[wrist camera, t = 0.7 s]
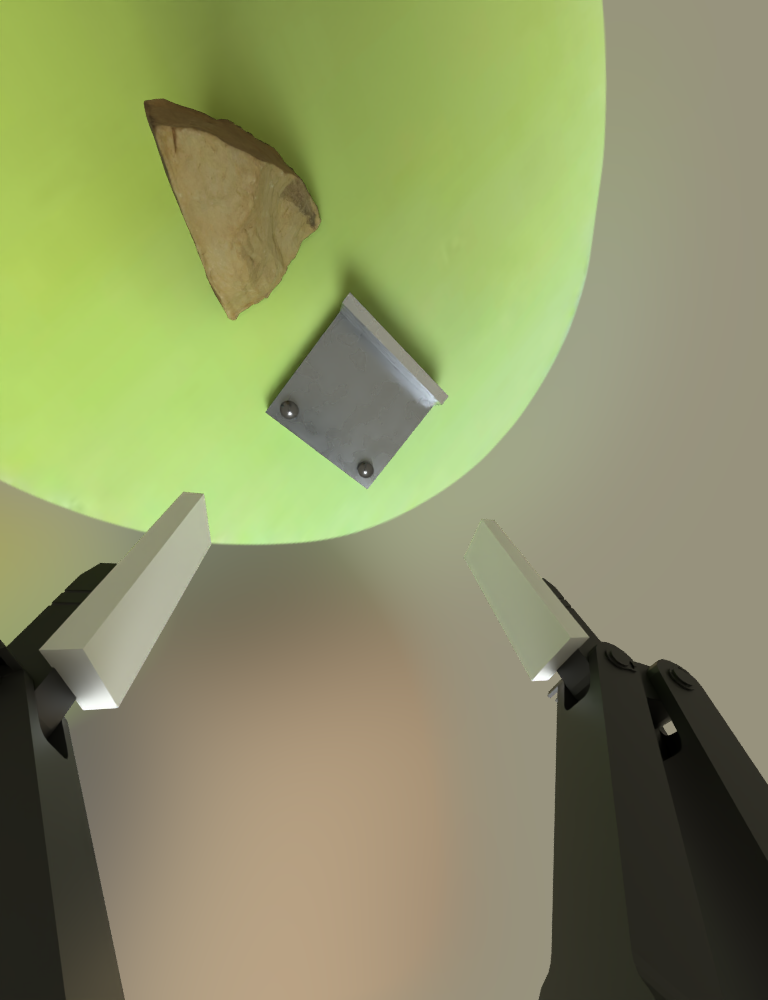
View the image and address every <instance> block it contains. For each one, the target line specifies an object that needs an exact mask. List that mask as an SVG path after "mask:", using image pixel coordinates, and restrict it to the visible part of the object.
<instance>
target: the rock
mask: <svg viewBox="0 0 768 1000" xmlns="http://www.w3.org/2000/svg"><path fill="white" fill-rule="evenodd" d="M144 107H145V112H146V116H147V120H148V123H149V126H150V128H151V131H152V133H153V136H154V138H155V142H156V145H157V148H158V151H159V154H160V157H161V160H162V163H163V166H164V169H165V172H166V175H167V177H168V180H169V182H170V185H171V188H172V191H173V193H174V195H175V198H176V200H177V202H178V205H179V207H180V210H181V212H182V215H183V217H184V219H185V222H186V224H187V227H188V229H189V231H190V234H191V236H192V238H193V240H194V243H195V245H196V248H197V251H198V254H199V256H200V259H201V261H202V264H203V266H204V269H205V272H206V276H207V279H208V281H209V283H210V285H211V287H212V289H213V291H214V293H215V295H216V297H217V298H218V300H219V302H220V304H221V305H222V307H223V308H224V310H225V312H226V314H227V316H228V318H229V319H231V320H236V319H237V317H238V315H239V314H240V312H242V311H244V310H246V309H247V308H249V307H250V306H251V305H253V304H256V303H259V302H260V301H261V300H262V299H264V298H268V297H269V295H270V293H271V292H272V290H273V289H274V288H275V287H276V286H277V284H279V283H280V281H281V280H282V277H283V275H284V274H285V273H286V271H287V266H288V265H289V264H290V262H291V260H292V259H294V258H295V256H296V254H297V252H298V250H299V247H300V245H301V243H302V241H303V240H304V239H305V238H307V237H308V236H309V235H310V234H311V233H313V232H315V231H316V230H317V229H318V226H319V224H320V223H321V219H320V217H319V213H318V208H317V205H316V204H315V203H314V202H313V200H312V198H311V196H310V194H309V192H308V190H307V188H306V186H305V184H304V182H303V181H302V179H301V178H300V177H299V176H298V175H296V173H295V172H294V171H293V169H292V168H291V167H289V166H288V165H287V164H286V163H285V162H284V161H283V159H282V158H281V156H280V155H279V153H278V152H277V151H276V150H275V149H274V148H273V147H271V146H270V145H268V144H266V143H263V142H262V141H260V140H258V139H256V138H255V137H254V136H253V135H252V134H251V133H249V132H246V131H244V130H243V129H242V128H241V127H239V126H237V125H235V124H234V123H233V122H231V121H229V120H226V119H219V120H216V119H214V118H212V117H210V116H208V115H206V114H205V113H202V112H199V111H196V110H194V109H191V108H188V107H184V106H181V105H178V104H175V103H172V102H170V101H168V100H165V99H153V100H146V101H144Z"/></svg>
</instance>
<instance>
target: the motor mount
mask: <svg viewBox="0 0 768 1000" xmlns="http://www.w3.org/2000/svg"><path fill="white" fill-rule="evenodd" d="M447 398H448V395H447V394H446V393H445V392H444V391H443V390H442V389H441V388H440V387H439V386H438V385H437V384H436V383H435V381H434V380H433V379H432V378H431V377H430V376H429V375H428V374H427V373H426V372H425V371H424V370H423V369H422V368H421V367H420V366H419V365H418V364H417V362H416V361H415V360H414V359H413V358H412V357H411V356H410V355H409V354H408V353H407V352H406V351H405V350H404V349H403V348H402V347H401V346H400V345H399V344H398V342H397V341H396V340H395V339H394V338H393V337H392V336H391V335H390V334H389V333H388V332H387V331H386V330H385V329H384V328H383V327H382V326H381V325H380V323H379V322H378V321H377V320H376V319H375V318H374V317H373V316H372V315H371V314H370V313H369V312H368V311H367V310H366V309H365V308H364V307H363V306H362V305H361V303H360V302H359V301H358V300H357V299H356V298H355V297H354V296H353V295H352V294H351V293H349V294H348V295H347V297H346V298H345V299H344V301H343V302H342V305H341V310H340V312H339V314H338V315H337V316H336V318H335V319H334V320H333V322H332V323H331V324H330V326H329V327H328V328H327V330H326V331H325V332H324V334H323V335H322V336H321V338H320V339H319V341H318V342H317V343H316V345H315V346H314V347H313V349H312V350H311V351H310V353H309V354H308V355H307V357H306V358H305V359H304V361H303V362H302V363H301V365H300V366H299V368H298V369H297V370H296V372H295V373H294V374H293V376H292V377H291V378H290V380H289V381H288V382H287V384H286V385H285V386H284V388H283V389H282V390H281V392H280V393H279V395H278V396H277V397H276V399H275V400H274V401H273V403H272V404H271V405H270V407H269V408H268V409H267V411H266V413H267V414H268V415H270V416H271V417H272V418H274V419H275V420H276V421H278V422H279V423H280V424H282V425H283V426H284V427H286V428H287V429H288V430H290V431H291V432H292V433H294V434H295V435H296V436H298V437H299V438H300V439H302V440H303V441H304V442H305V443H307V444H308V445H309V446H311V447H312V448H313V449H315V450H316V451H317V452H319V453H320V454H321V455H323V456H324V457H325V458H327V459H328V460H329V461H331V462H332V463H333V464H335V465H336V466H337V467H339V468H340V469H341V470H343V471H344V472H345V473H347V474H348V475H349V476H351V477H352V478H353V479H355V480H356V481H357V482H358V483H360V484H361V485H362V486H364V487H365V488H366V489H368V488H369V486H370V485H371V484H372V483H373V481H374V480H375V479H376V478H377V476H378V475H379V474H380V473H381V471H382V470H383V469H384V467H385V466H386V465H387V464H388V462H389V461H390V460H391V459H392V457H393V456H394V455H395V454H396V452H397V451H398V450H399V449H400V447H401V446H402V445H403V444H404V442H405V441H406V440H407V438H408V437H409V436H410V435H411V433H412V432H413V431H414V430H415V428H416V427H417V426H418V425H419V423H420V422H421V421H422V420H423V418H424V417H425V416H426V415H427V413H428V412H429V411H430V409H431V408H432V407H433V406H435V405H442V404H443V403H444V401H445V400H446V399H447Z"/></svg>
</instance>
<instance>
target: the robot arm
mask: <svg viewBox="0 0 768 1000" xmlns="http://www.w3.org/2000/svg"><path fill="white" fill-rule="evenodd" d="M210 545H211V539H210V532H209V525H208V518H207V511H206V504H205V497H204V494H201V493H190V492H183V493H182V494H181V495H180V496H179V497H178V498H177V499H176V500H175V501H174V503H173V504H172V505H171V506H170V507H169V508H168V509H167V510H166V511H165V512H164V514H163V515H162V516H161V517H160V518H159V519H158V520H157V521H156V522H155V523H154V524H153V526H152V527H151V528H150V529H149V530H148V531H147V532H146V533H145V534H144V535H143V537H142V538H141V539H140V540H139V541H138V542H137V543H136V544H135V545H134V546H133V547H132V549H131V550H130V551H129V552H128V553H127V554H126V555H125V556H124V557H123V559H122V560H121V561H120V562H119V563H118V564H112V563H100V564H98V565H96V566H95V567H93V568H91V569H90V570H88V571H86V572H84V573H83V574H81V575H80V576H79V577H78V578H77V579H76V580H75V581H73V583H71V585H70V586H68V587H67V588H66V589H65V592H64V593H61V594H60V595H59V596H58V597H57V598H56V599H55V600H54V601H53V602H52V605H51V606H48V607H47V608H46V609H45V610H44V611H43V612H42V613H41V614H40V615H39V616H38V617H37V618H36V619H35V620H34V621H33V622H32V623H31V624H30V625H29V626H27V628H26V629H24V630H23V631H22V633H20V634H19V635H18V636H17V637H16V638H15V639H14V640H13V641H12V642H11V643H10V644H9V645H8V646H7V647H6V646H5V645H4V643H3V642H2V641H1V640H0V1000H125V999H124V994H123V989H122V984H121V979H120V974H119V970H118V965H117V960H116V955H115V950H114V946H113V941H112V935H111V931H110V927H109V921H108V916H107V911H106V906H105V901H104V897H103V892H102V887H101V883H100V877H99V872H98V868H97V863H96V858H95V853H94V848H93V843H92V838H91V834H90V829H89V824H88V819H87V814H86V810H85V805H84V800H83V795H82V790H81V785H80V780H79V775H78V770H77V766H76V761H75V756H74V751H73V746H72V742H71V737H70V732H69V727H68V722H67V720H66V719H65V717H64V716H65V714H66V713H67V711H68V710H69V708H70V707H71V705H72V704H73V703H74V701H75V700H76V701H77V702H78V704H79V705H80V706H81V707H82V709H83V710H92V709H108V708H118V707H119V705H120V703H121V702H122V700H123V698H124V696H125V695H126V693H127V691H128V689H129V688H130V686H131V684H132V682H133V681H134V679H135V677H136V675H137V674H138V671H139V670H140V668H141V667H142V665H143V663H144V661H145V660H146V658H147V656H148V654H149V653H150V651H151V649H152V647H153V645H154V644H155V642H156V640H157V638H158V637H159V635H160V633H161V631H162V629H163V628H164V626H165V624H166V623H167V621H168V619H169V617H170V615H171V614H172V612H173V610H174V609H175V607H176V605H177V603H178V602H179V600H180V598H181V596H182V594H183V593H184V591H185V589H186V587H187V586H188V584H189V582H190V580H191V579H192V577H193V575H194V573H195V572H196V570H197V568H198V566H199V564H200V563H201V561H202V559H203V558H204V556H205V554H206V552H207V551H208V549H209V547H210ZM464 559H465V561H466V563H467V565H468V566H469V568H470V570H471V572H472V574H473V575H474V577H475V579H476V581H477V583H478V585H479V586H480V588H481V590H482V592H483V594H484V595H485V597H486V599H487V601H488V603H489V605H490V606H491V608H492V610H493V612H494V614H495V616H496V617H497V619H498V621H499V623H500V625H501V626H502V628H503V630H504V632H505V634H506V636H507V637H508V639H509V641H510V643H511V645H512V647H513V648H514V650H515V652H516V654H517V655H518V657H519V659H520V661H521V663H522V665H523V666H524V668H525V670H526V672H527V674H528V676H529V677H530V679H531V681H538V680H549V679H550V678H551V676H553V675H554V673H555V672H556V671H557V672H558V674H559V675H560V677H561V678H562V679H561V680H560V681H559V682H558V683H557V684H556V685H555V686H554V687H553V688H552V689H551V690H550V691H549V693H548V697H550V698H551V697H552V696H553V695H554V694H555V693H556V692H558V695H557V699H556V700H555V701H556V702H557V738H556V739H557V740H556V782H555V827H554V870H553V914H552V954H551V964H550V969H549V973H548V975H547V977H546V979H545V981H544V983H543V986H542V988H541V992H540V996H539V1000H768V784H767V783H766V781H765V780H764V779H763V777H762V776H761V774H760V773H759V771H758V769H757V768H756V767H755V765H754V764H753V762H752V761H751V759H750V758H749V756H748V755H747V753H746V752H745V750H744V749H743V747H742V746H741V744H740V743H739V742H738V740H737V738H736V737H735V735H734V734H733V732H732V731H731V729H730V728H729V726H728V725H727V723H726V722H725V720H724V719H723V717H722V716H721V715H720V713H719V712H718V710H717V709H716V707H715V706H714V704H713V703H712V701H711V700H710V698H709V697H708V695H707V694H706V692H705V691H704V689H703V688H702V686H700V684H699V683H698V682H697V680H696V679H695V678H693V676H691V675H690V674H689V673H688V672H687V671H686V670H684V669H683V668H682V667H680V666H678V665H677V664H674V663H672V662H670V661H667V660H663V659H661V660H658V661H657V662H655V663H654V664H653V665H652V666H647V665H644V664H641V663H637V662H634V661H633V660H632V659H631V658H630V657H629V656H628V655H627V654H626V653H624V651H622V650H621V649H619V648H618V647H616V646H615V645H612V644H610V643H607V642H601V641H600V640H599V639H598V638H597V637H596V635H595V634H594V633H593V632H592V631H591V629H590V628H589V627H588V626H587V625H586V623H585V622H584V621H583V620H582V619H581V617H580V616H579V615H578V614H577V613H576V611H575V610H574V609H573V608H571V605H570V604H569V603H568V602H567V601H566V600H564V597H563V596H562V595H561V594H560V592H559V591H558V590H557V589H556V588H555V587H554V586H553V585H552V584H550V583H549V582H548V581H546V580H545V579H544V578H541V577H540V576H539V575H538V573H537V572H536V571H535V570H534V569H533V567H532V566H531V565H530V563H528V561H527V560H526V559H525V557H524V556H523V555H522V554H521V552H520V551H519V550H518V549H517V547H516V546H515V545H514V544H513V542H512V541H511V540H510V539H509V538H508V536H507V535H506V534H505V533H504V532H503V530H502V529H501V528H500V527H499V525H498V524H497V523H496V522H495V520H488V519H481V521H480V523H479V526H478V528H477V530H476V532H475V534H474V536H473V538H472V540H471V543H470V545H469V547H468V549H467V551H466V553H465V555H464ZM671 720H672V722H673V724H674V726H675V728H676V729H677V732H675V733H673V734H672V735H667V733H666V731H665V730H664V728H663V725H664V724H666V723H668V722H670V721H671Z"/></svg>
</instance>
